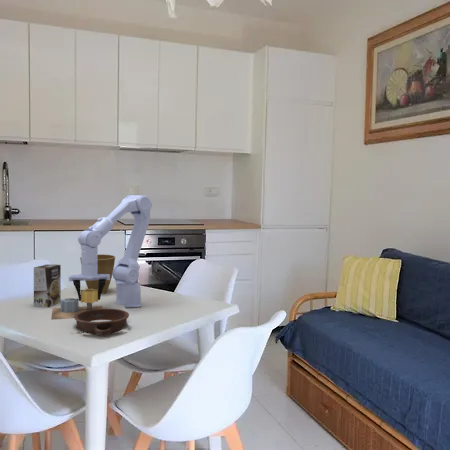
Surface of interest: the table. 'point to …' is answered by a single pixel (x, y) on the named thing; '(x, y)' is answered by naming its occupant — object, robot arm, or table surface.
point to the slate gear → (69, 305)
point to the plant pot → (102, 271)
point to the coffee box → (47, 285)
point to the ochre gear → (89, 295)
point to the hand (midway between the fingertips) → (89, 299)
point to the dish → (101, 327)
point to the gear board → (62, 315)
